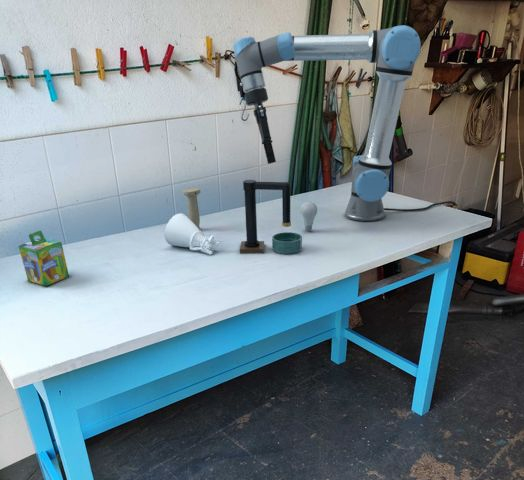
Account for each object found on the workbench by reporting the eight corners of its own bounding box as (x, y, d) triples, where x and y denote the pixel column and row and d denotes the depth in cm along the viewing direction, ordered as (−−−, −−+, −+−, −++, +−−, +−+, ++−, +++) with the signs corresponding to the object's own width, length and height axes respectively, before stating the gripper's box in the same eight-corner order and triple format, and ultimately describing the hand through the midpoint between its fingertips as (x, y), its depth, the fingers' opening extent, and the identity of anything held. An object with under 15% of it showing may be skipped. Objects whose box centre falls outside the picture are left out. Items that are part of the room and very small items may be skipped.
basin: (301, 244, 183) (301, 232, 180) (302, 254, 174) (302, 241, 172) (272, 244, 183) (272, 232, 181) (272, 255, 174) (271, 242, 172)
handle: (205, 229, 200) (202, 189, 192) (192, 233, 196) (188, 192, 189) (198, 226, 203) (194, 187, 195) (184, 230, 200) (180, 190, 192)
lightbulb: (298, 233, 193) (298, 203, 187) (303, 228, 198) (303, 199, 192) (313, 234, 191) (314, 204, 185) (318, 229, 196) (319, 200, 190)
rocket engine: (219, 226, 171) (178, 206, 178) (200, 254, 170) (159, 234, 177) (230, 243, 182) (191, 224, 189) (212, 270, 181) (174, 250, 187)
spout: (243, 225, 174) (241, 182, 167) (246, 222, 178) (244, 179, 170) (289, 227, 171) (289, 183, 164) (291, 223, 175) (291, 180, 167)
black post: (264, 245, 183) (262, 187, 173) (263, 253, 176) (261, 193, 166) (241, 245, 184) (238, 187, 173) (239, 253, 177) (236, 193, 166)
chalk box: (46, 287, 157) (33, 239, 149) (26, 281, 161) (13, 235, 153) (70, 276, 163) (59, 230, 156) (51, 271, 168) (40, 226, 160)
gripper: (243, 96, 181) (260, 166, 188) (244, 89, 169) (263, 164, 176) (264, 91, 181) (280, 161, 188) (267, 83, 169) (284, 159, 176)
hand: (271, 162), depth 182 cm, fingers closed
